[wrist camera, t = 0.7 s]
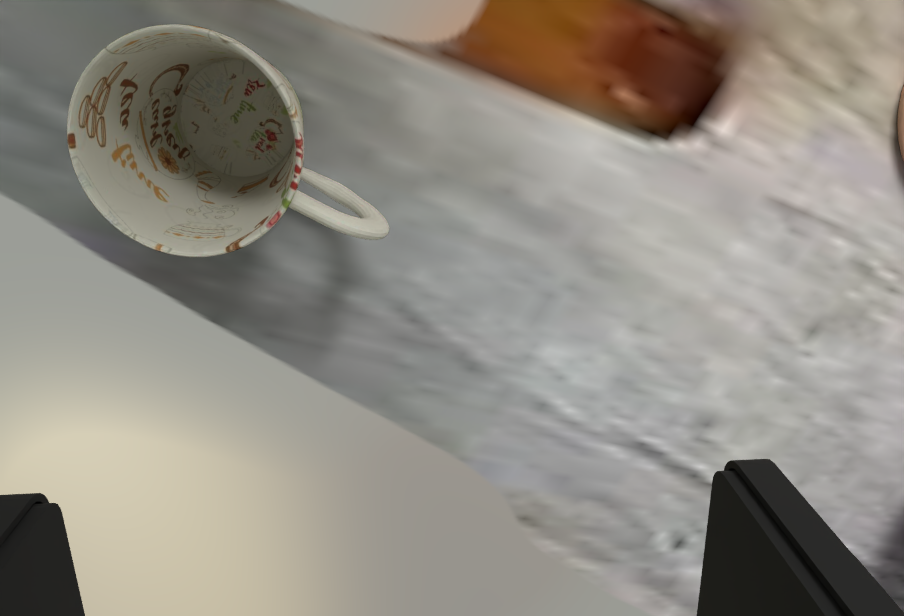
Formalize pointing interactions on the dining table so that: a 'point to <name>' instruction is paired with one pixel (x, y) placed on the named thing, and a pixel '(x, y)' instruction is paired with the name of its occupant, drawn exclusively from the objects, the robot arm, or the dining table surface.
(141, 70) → the mug
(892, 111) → the dining table surface
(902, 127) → the coaster
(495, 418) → the dining table surface
